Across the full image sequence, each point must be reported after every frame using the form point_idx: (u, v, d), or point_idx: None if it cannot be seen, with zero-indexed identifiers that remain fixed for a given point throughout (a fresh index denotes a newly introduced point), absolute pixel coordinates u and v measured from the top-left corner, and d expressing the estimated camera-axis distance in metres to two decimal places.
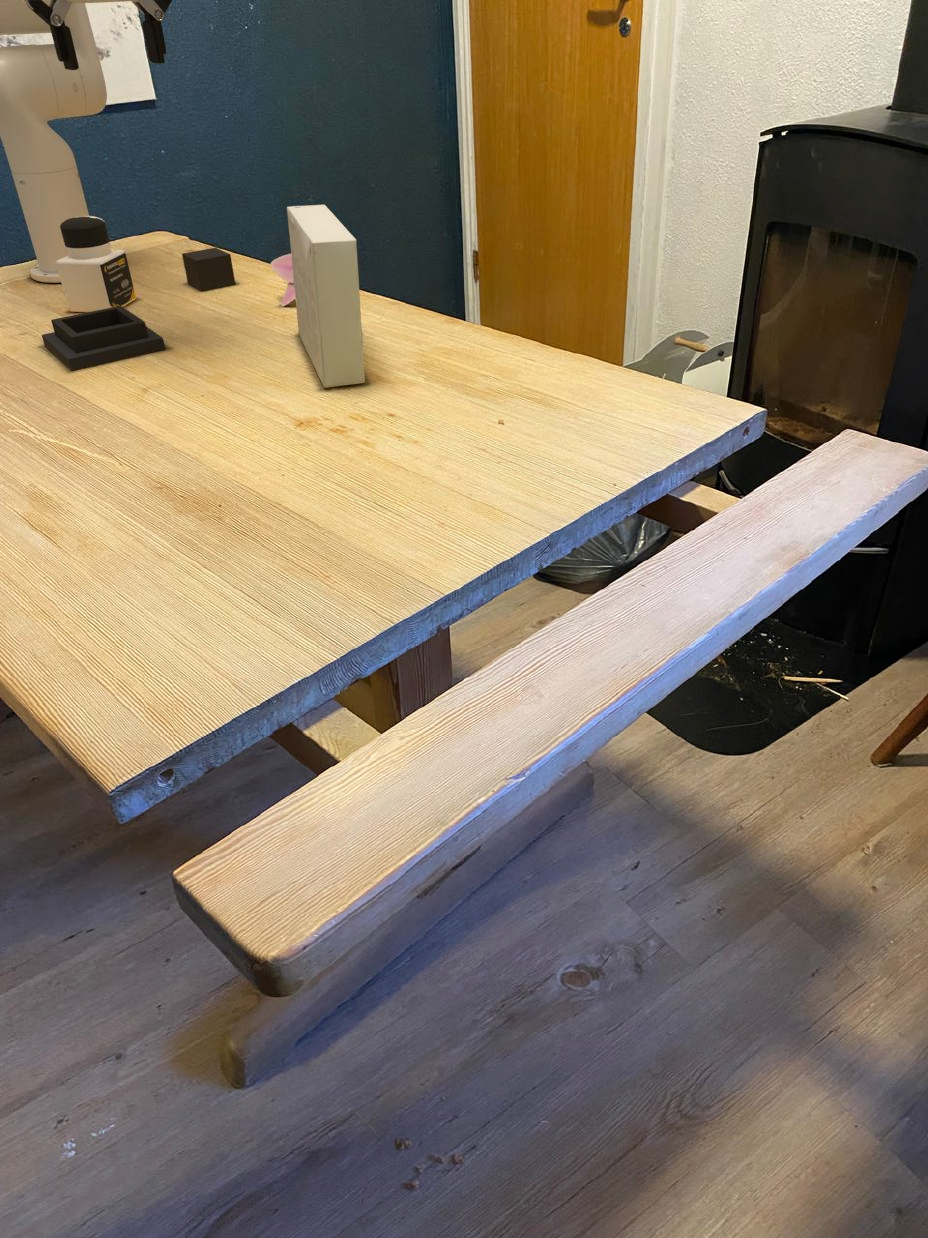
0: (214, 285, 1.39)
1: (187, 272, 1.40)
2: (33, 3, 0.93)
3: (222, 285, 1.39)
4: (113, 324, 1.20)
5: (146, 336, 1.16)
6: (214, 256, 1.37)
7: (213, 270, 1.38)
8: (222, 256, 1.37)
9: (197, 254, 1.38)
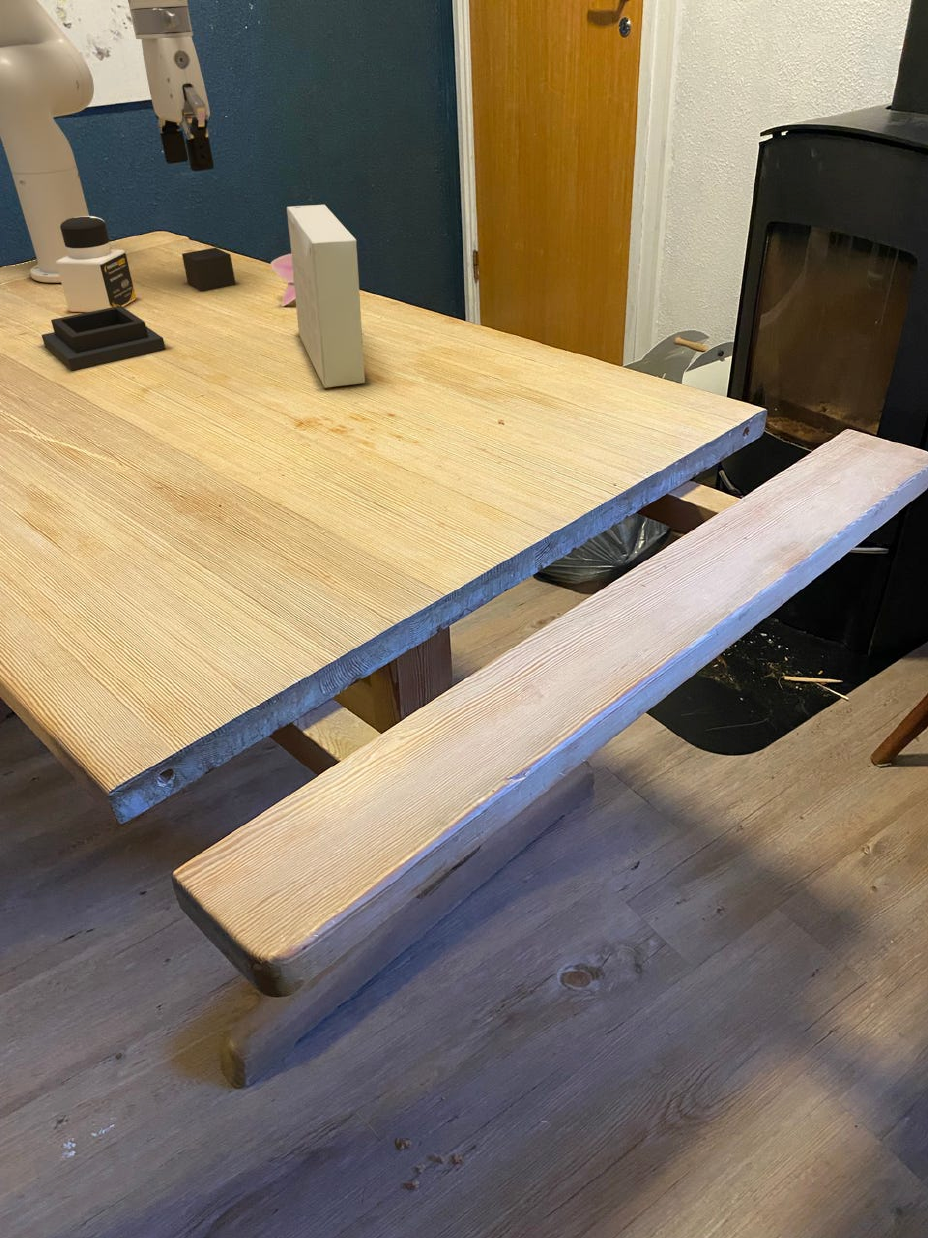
0: (214, 285, 1.39)
1: (187, 272, 1.40)
2: (156, 115, 1.32)
3: (222, 285, 1.39)
4: (113, 324, 1.20)
5: (146, 336, 1.16)
6: (214, 256, 1.37)
7: (213, 270, 1.38)
8: (222, 256, 1.37)
9: (197, 254, 1.38)
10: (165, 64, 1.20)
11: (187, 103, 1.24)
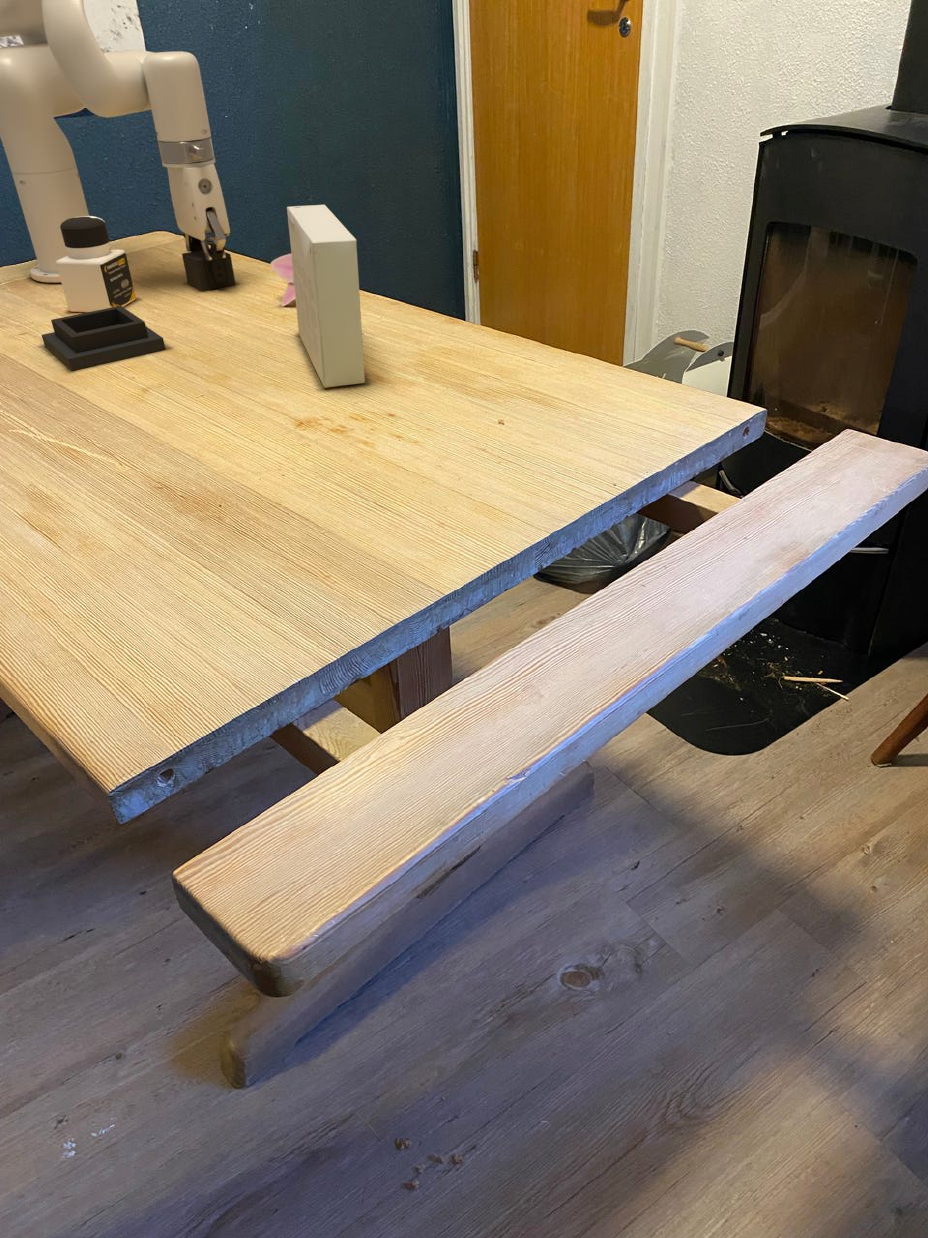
0: None
1: (187, 272, 1.40)
2: (183, 235, 1.41)
3: None
4: (113, 324, 1.20)
5: (146, 336, 1.16)
6: None
7: None
8: None
9: (197, 254, 1.38)
10: (189, 191, 1.29)
11: None
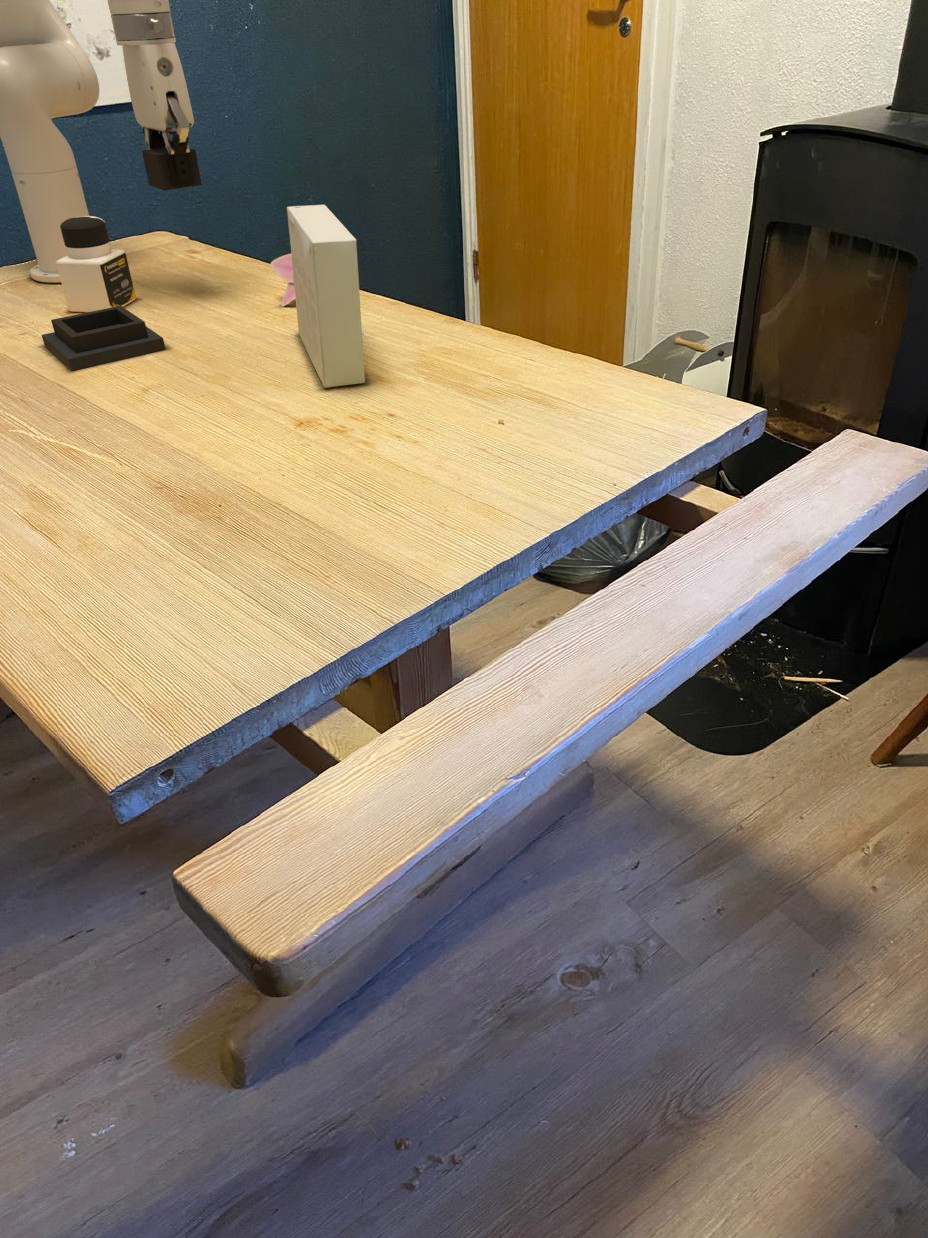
0: None
1: (148, 171, 1.27)
2: (143, 131, 1.28)
3: (187, 185, 1.27)
4: (113, 324, 1.20)
5: (146, 336, 1.16)
6: None
7: None
8: None
9: (158, 150, 1.25)
10: (147, 72, 1.16)
11: None
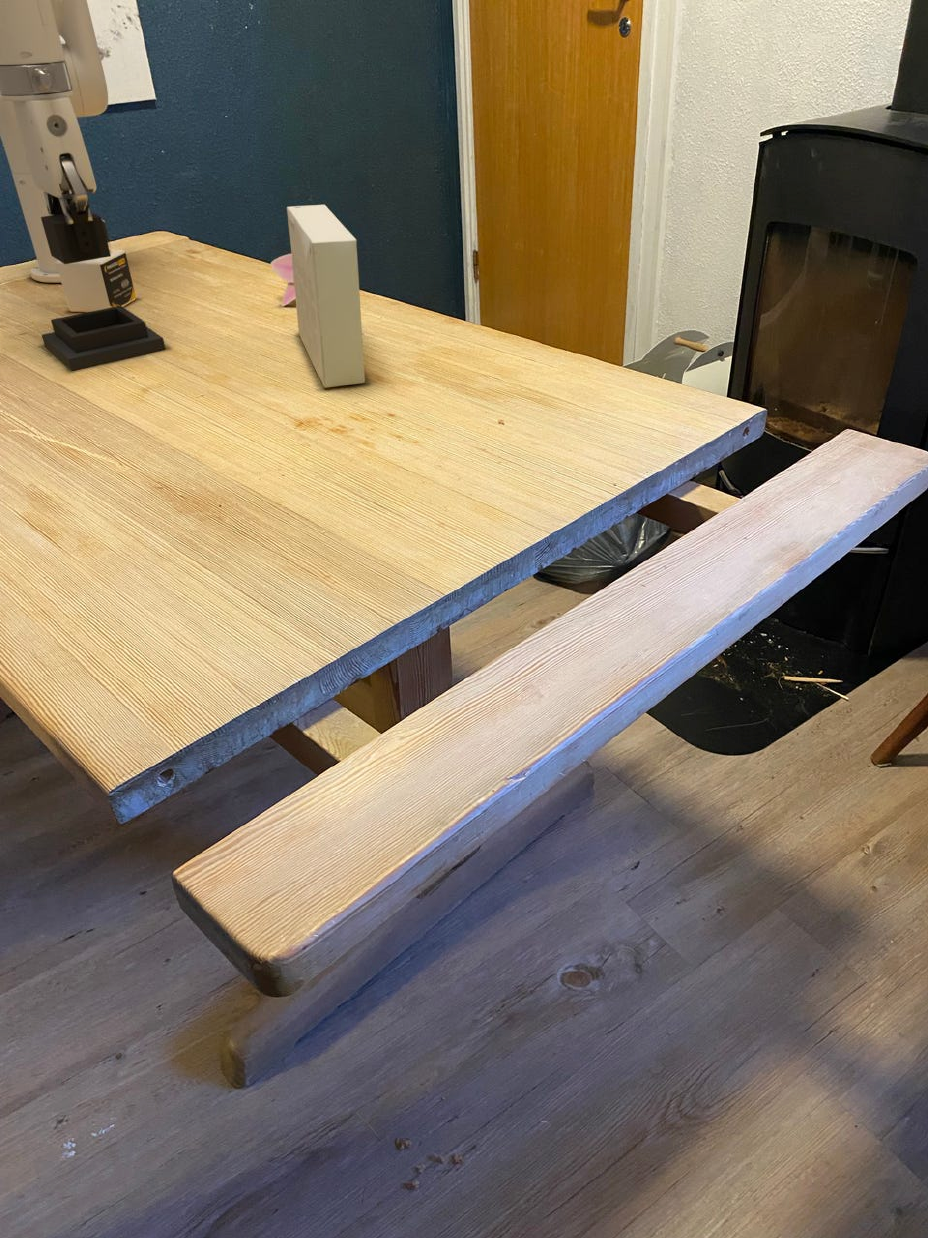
0: None
1: (49, 240, 1.10)
2: (45, 194, 1.11)
3: None
4: (113, 324, 1.20)
5: (146, 336, 1.16)
6: None
7: None
8: None
9: (59, 217, 1.08)
10: (36, 131, 0.99)
11: None
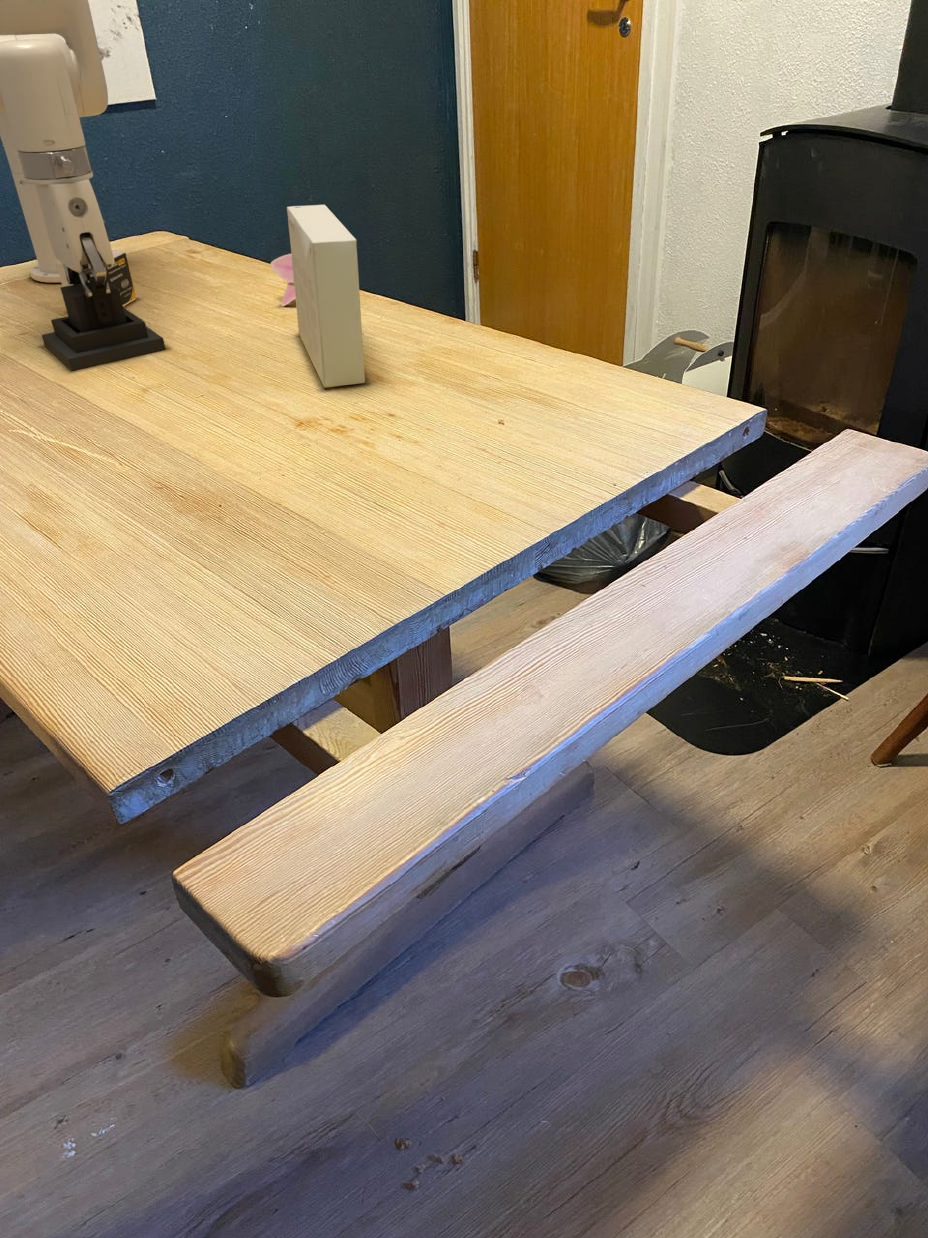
0: None
1: (68, 309, 1.15)
2: (64, 264, 1.16)
3: None
4: None
5: (146, 336, 1.16)
6: None
7: None
8: None
9: (78, 288, 1.13)
10: (58, 213, 1.04)
11: None
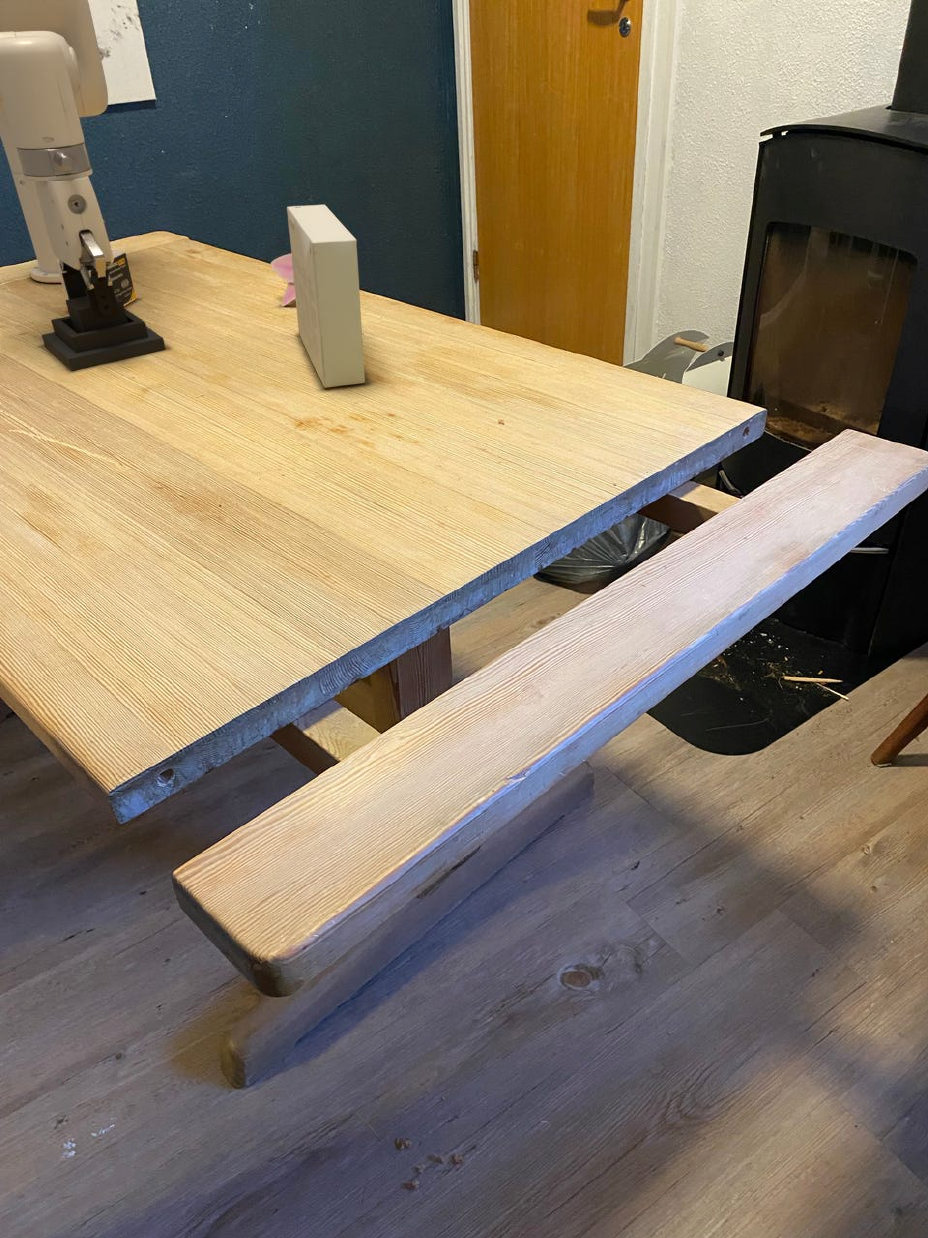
0: None
1: (73, 322, 1.16)
2: None
3: None
4: None
5: (146, 336, 1.16)
6: None
7: None
8: None
9: (83, 301, 1.14)
10: (57, 210, 1.04)
11: None
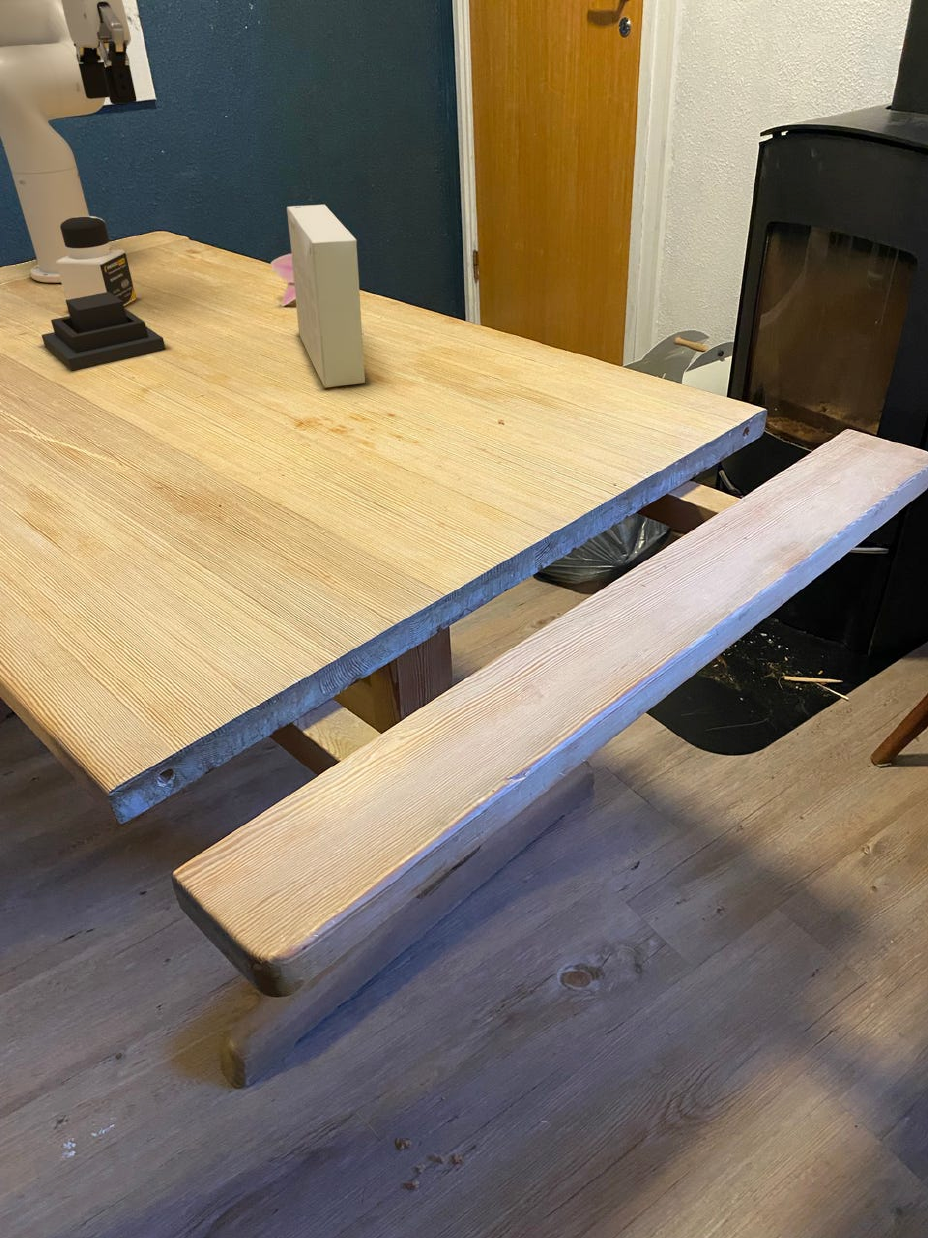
0: None
1: (73, 322, 1.16)
2: (74, 43, 1.18)
3: None
4: None
5: (146, 336, 1.16)
6: (102, 304, 1.13)
7: (102, 321, 1.13)
8: (112, 304, 1.13)
9: (83, 301, 1.14)
10: None
11: (104, 26, 1.10)
